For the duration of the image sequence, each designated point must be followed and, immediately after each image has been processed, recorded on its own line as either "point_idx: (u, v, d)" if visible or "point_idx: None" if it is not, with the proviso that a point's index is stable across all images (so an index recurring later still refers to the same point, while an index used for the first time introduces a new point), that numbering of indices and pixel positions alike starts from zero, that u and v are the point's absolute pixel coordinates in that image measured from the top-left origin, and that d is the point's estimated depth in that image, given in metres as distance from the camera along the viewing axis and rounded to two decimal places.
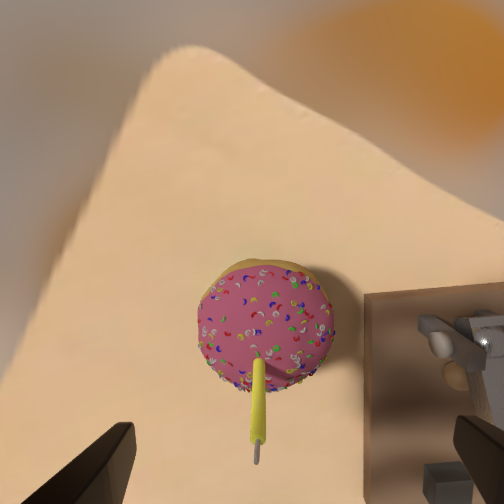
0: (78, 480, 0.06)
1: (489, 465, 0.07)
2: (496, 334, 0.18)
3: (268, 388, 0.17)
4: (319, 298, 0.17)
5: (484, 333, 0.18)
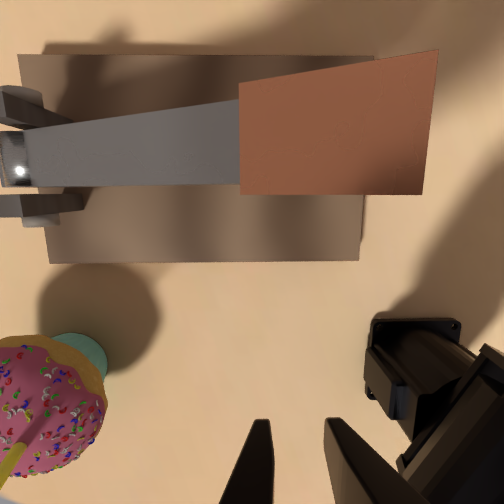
0: (255, 475, 0.06)
1: (337, 469, 0.07)
2: (1, 161, 0.14)
3: (72, 426, 0.16)
4: None
5: (4, 175, 0.14)
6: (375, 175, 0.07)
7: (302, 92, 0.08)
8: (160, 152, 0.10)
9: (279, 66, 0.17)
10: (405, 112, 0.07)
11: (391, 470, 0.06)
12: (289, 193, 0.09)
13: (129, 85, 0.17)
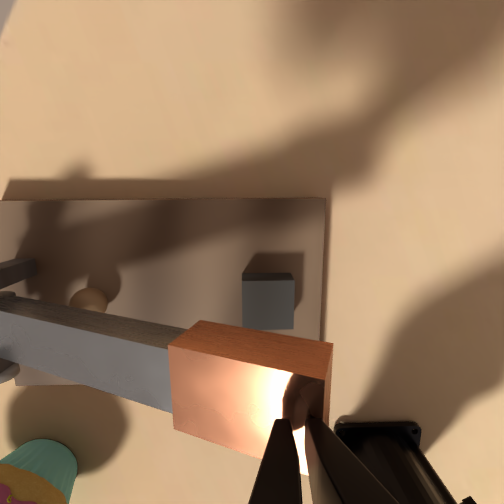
0: (282, 475, 0.06)
1: (314, 469, 0.07)
2: None
3: None
4: None
5: None
6: None
7: (220, 371, 0.09)
8: (104, 367, 0.11)
9: (234, 208, 0.17)
10: (302, 415, 0.08)
11: (364, 470, 0.06)
12: (214, 441, 0.09)
13: (89, 227, 0.17)
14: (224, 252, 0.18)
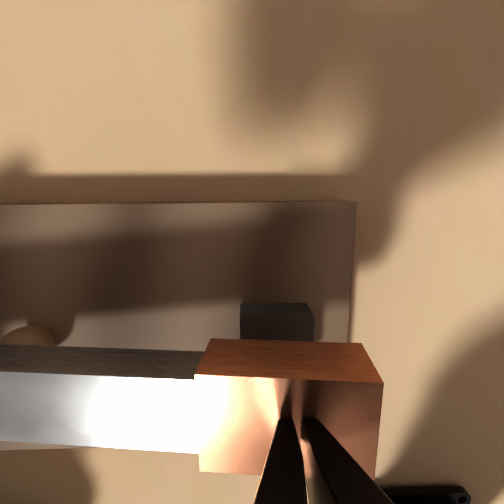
0: (286, 474, 0.06)
1: (310, 470, 0.07)
2: None
3: None
4: None
5: None
6: None
7: (264, 394, 0.08)
8: (93, 415, 0.09)
9: (229, 216, 0.12)
10: (358, 423, 0.08)
11: (360, 470, 0.06)
12: (253, 473, 0.08)
13: (27, 242, 0.12)
14: (216, 276, 0.13)
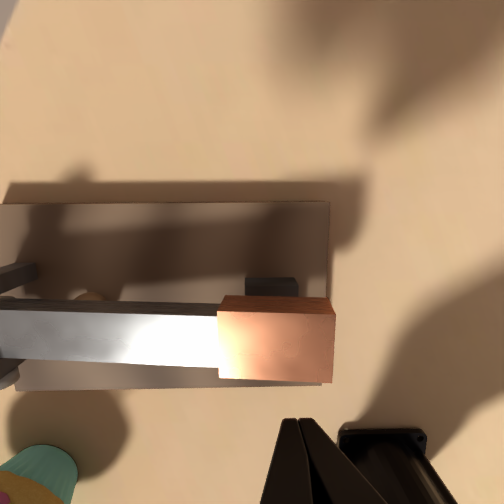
0: (292, 475, 0.06)
1: None
2: None
3: None
4: None
5: None
6: (306, 372, 0.13)
7: (261, 323, 0.12)
8: (148, 342, 0.13)
9: (237, 212, 0.17)
10: (321, 341, 0.12)
11: (355, 471, 0.06)
12: (254, 378, 0.13)
13: (90, 231, 0.17)
14: (227, 256, 0.17)
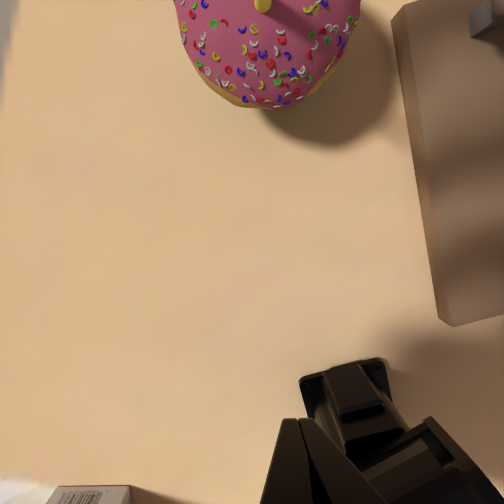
0: (292, 475, 0.06)
1: None
2: None
3: (285, 70, 0.12)
4: None
5: None
6: None
7: None
8: None
9: None
10: None
11: (355, 471, 0.06)
12: None
13: None
14: None
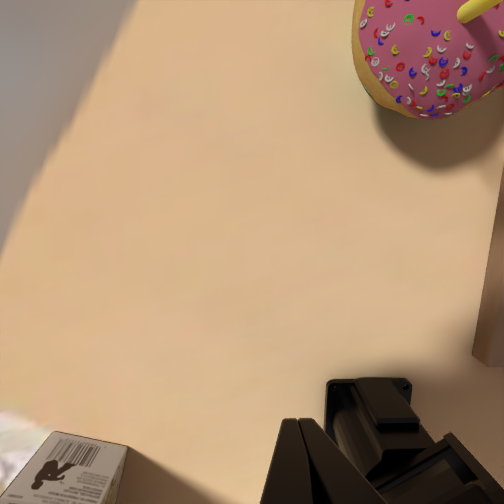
0: (292, 474, 0.06)
1: None
2: None
3: (453, 84, 0.13)
4: None
5: None
6: None
7: None
8: None
9: None
10: None
11: (354, 471, 0.06)
12: None
13: None
14: None
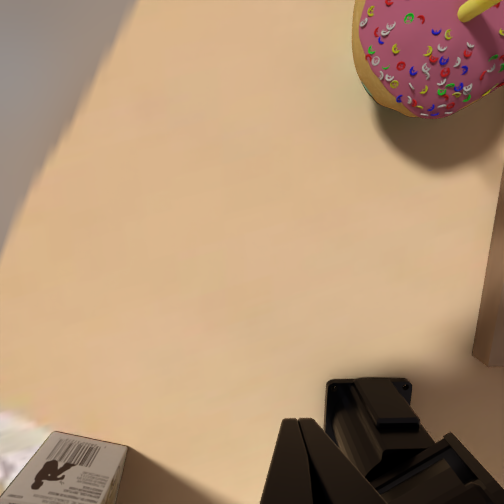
0: (292, 474, 0.06)
1: None
2: None
3: (453, 83, 0.13)
4: None
5: None
6: None
7: None
8: None
9: None
10: None
11: (355, 471, 0.06)
12: None
13: None
14: None
